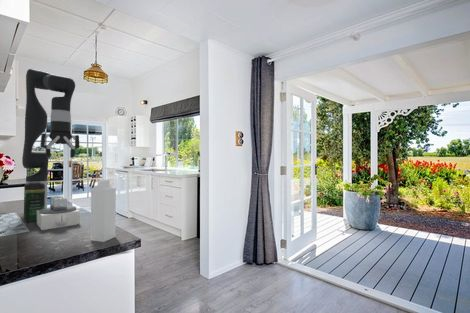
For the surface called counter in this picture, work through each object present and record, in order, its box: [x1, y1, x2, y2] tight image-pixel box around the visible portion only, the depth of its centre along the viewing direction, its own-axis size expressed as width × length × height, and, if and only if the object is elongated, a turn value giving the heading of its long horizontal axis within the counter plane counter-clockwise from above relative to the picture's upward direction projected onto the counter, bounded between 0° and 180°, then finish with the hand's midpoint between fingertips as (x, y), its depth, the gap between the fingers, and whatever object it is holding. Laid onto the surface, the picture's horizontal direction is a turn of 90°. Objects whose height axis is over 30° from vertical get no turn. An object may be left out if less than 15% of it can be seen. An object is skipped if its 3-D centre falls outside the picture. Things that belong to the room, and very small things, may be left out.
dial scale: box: [36, 205, 81, 231], centre depth 118 cm, size 14×14×7 cm
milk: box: [90, 179, 117, 243], centre depth 97 cm, size 6×6×22 cm
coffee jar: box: [23, 181, 45, 223], centre depth 124 cm, size 10×8×19 cm
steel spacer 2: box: [53, 197, 68, 211], centre depth 115 cm, size 5×5×5 cm
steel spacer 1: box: [49, 195, 64, 209], centre depth 120 cm, size 5×5×5 cm
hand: (60, 157), depth 115 cm, fingers open, 8 cm apart
